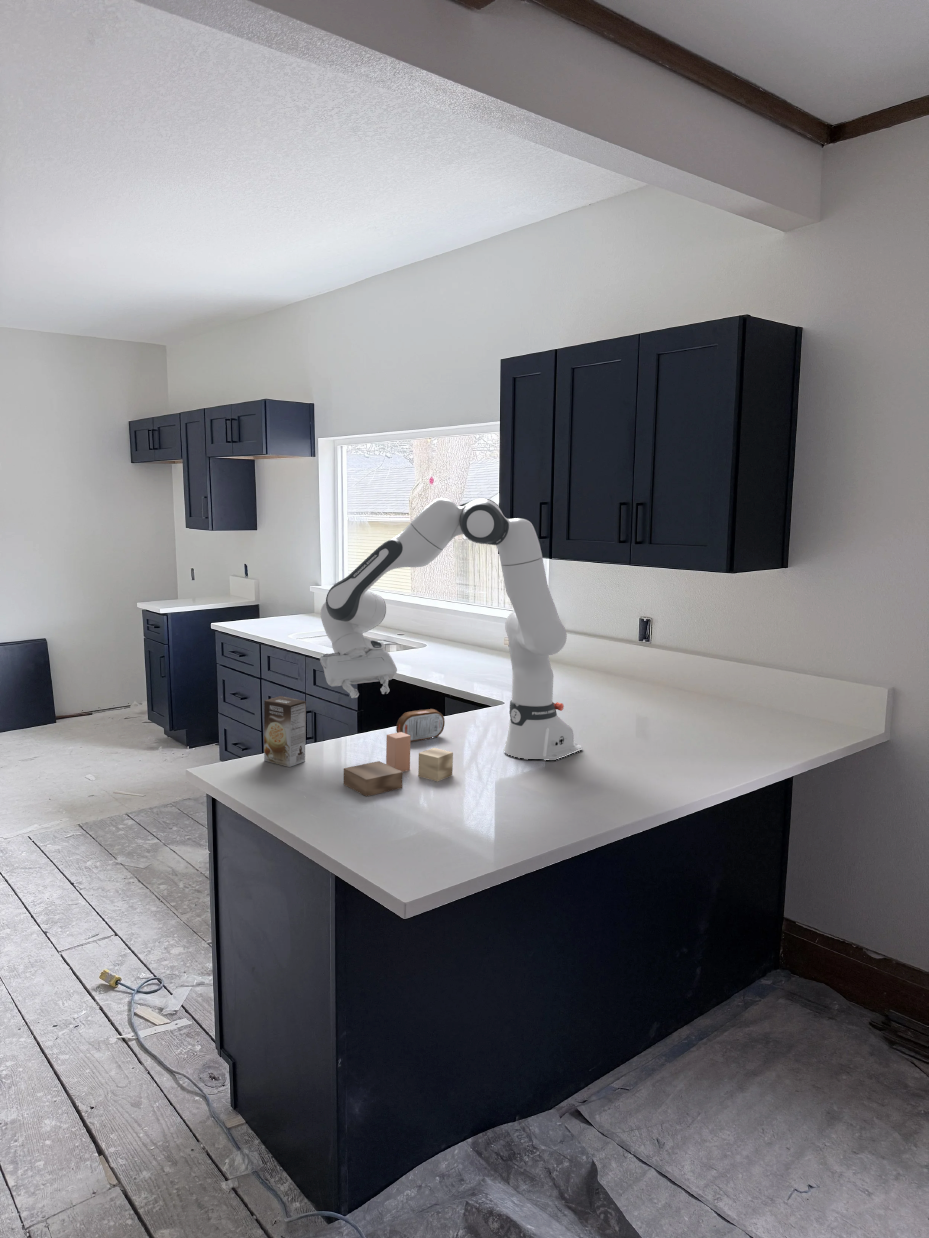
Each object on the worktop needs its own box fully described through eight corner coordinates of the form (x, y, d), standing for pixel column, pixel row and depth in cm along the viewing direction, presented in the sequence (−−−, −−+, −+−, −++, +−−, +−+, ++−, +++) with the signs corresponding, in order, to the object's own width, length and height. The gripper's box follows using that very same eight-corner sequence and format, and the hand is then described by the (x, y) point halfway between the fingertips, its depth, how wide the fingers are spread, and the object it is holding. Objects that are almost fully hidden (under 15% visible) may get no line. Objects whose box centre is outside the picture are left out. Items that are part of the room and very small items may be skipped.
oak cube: (433, 770, 214) (433, 747, 213) (452, 775, 210) (452, 752, 210) (418, 776, 209) (418, 752, 208) (437, 781, 206) (438, 757, 205)
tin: (440, 734, 247) (440, 706, 246) (446, 737, 244) (446, 708, 243) (395, 742, 238) (395, 712, 237) (401, 744, 236) (401, 715, 235)
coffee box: (262, 761, 218) (262, 699, 215) (280, 755, 223) (279, 695, 221) (289, 767, 213) (289, 705, 211) (306, 761, 218) (307, 700, 216)
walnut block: (378, 776, 208) (379, 761, 207) (402, 788, 200) (402, 771, 199) (343, 784, 201) (343, 768, 201) (366, 796, 194) (366, 779, 193)
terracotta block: (400, 766, 217) (401, 731, 215) (409, 770, 213) (410, 735, 212) (386, 769, 214) (386, 734, 212) (395, 773, 211) (395, 738, 209)
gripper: (322, 647, 218) (341, 692, 212) (388, 642, 231) (408, 683, 225) (313, 661, 222) (331, 705, 216) (378, 655, 235) (397, 697, 229)
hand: (371, 694), depth 221 cm, fingers open, 8 cm apart
